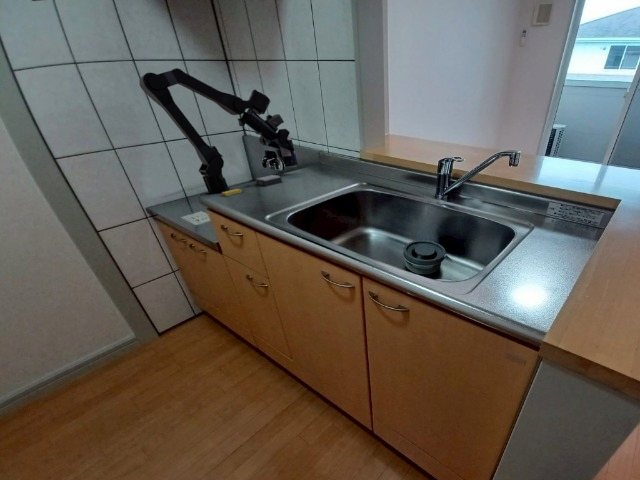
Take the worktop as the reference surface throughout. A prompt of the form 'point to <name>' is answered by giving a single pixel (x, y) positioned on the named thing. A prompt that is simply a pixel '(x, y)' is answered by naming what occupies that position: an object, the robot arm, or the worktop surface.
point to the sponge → (231, 192)
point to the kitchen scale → (268, 180)
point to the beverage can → (289, 156)
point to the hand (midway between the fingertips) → (290, 150)
